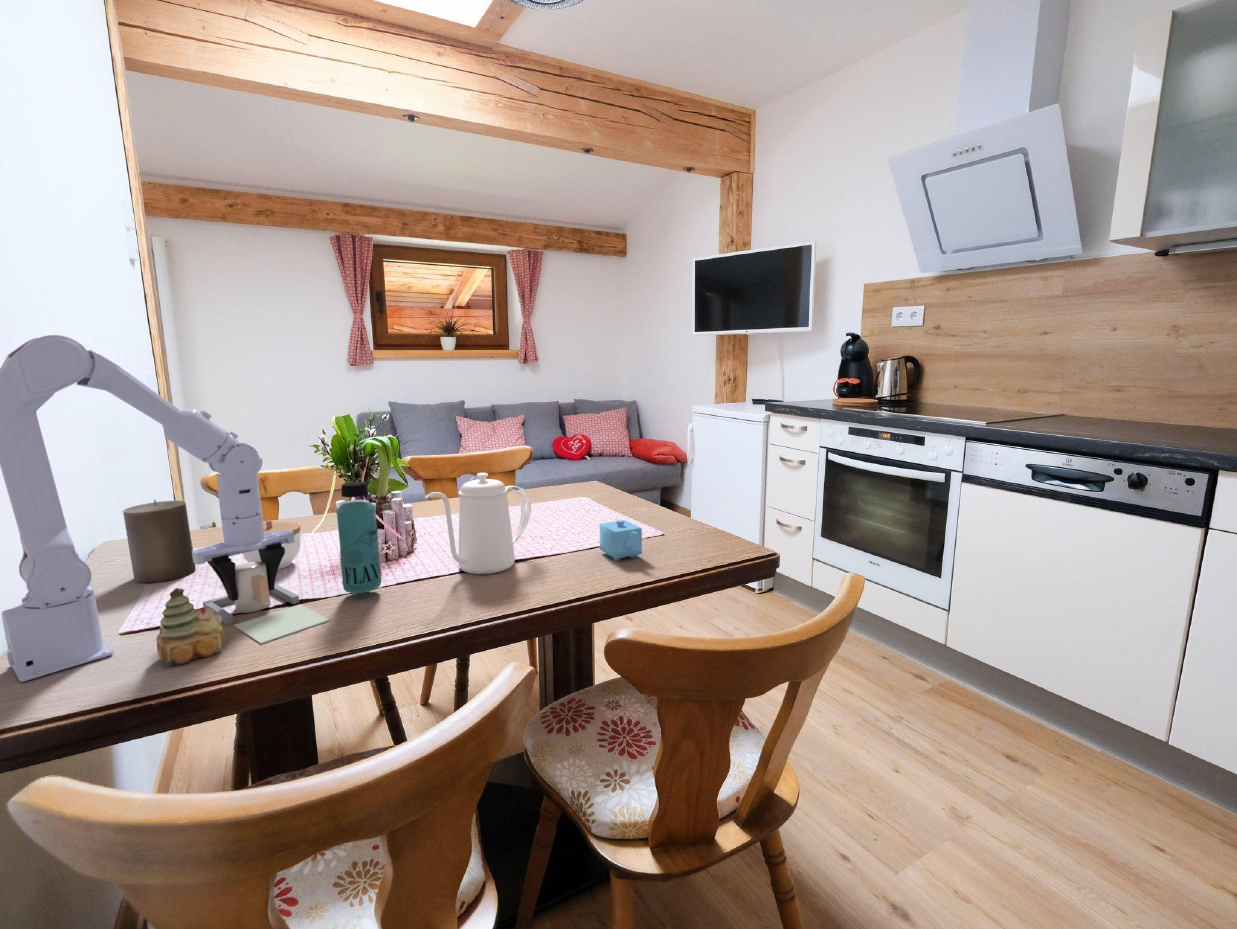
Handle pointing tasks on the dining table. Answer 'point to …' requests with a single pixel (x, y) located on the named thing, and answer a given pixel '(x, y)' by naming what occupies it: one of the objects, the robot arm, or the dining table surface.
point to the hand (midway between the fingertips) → (251, 593)
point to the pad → (280, 623)
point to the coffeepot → (485, 525)
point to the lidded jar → (290, 549)
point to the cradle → (222, 601)
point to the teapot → (620, 539)
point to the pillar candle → (159, 541)
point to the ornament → (188, 631)
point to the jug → (251, 587)
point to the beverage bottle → (358, 541)
